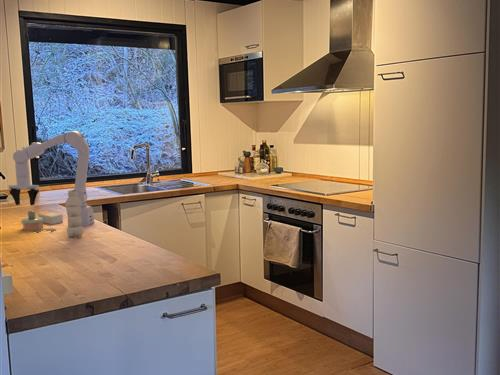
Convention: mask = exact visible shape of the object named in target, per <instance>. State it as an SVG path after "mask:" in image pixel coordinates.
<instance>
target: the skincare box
mask: <svg viewBox="0 0 500 375" xmlns="http://www.w3.org/2000/svg"><path fill="white" fill-rule="evenodd" d="M38 217H41V218H43V224H44V223H45V224H50V225H54V224H60V223H63V222H64V218H63V217H64V216H63V214H61V213H56V212H52V211H47V212H41V213H38Z"/></svg>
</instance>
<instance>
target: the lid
mask: <svg viewBox="0 0 500 375" xmlns="http://www.w3.org/2000/svg"><path fill="white" fill-rule="evenodd" d="M20 221H21V224H22V225H23V224H33V223H39V222H42V221H43V218H41V217H39V216H36V211H35V210H29V211H27V217H25V218H22V219H21V220H20Z"/></svg>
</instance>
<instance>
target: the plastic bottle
mask: <svg viewBox="0 0 500 375" xmlns="http://www.w3.org/2000/svg"><path fill="white" fill-rule="evenodd" d="M67 195H68V197H67V199H66V200H65V204H64V205H65V209H66V214H67V229H66V230H67V231H66V234H67V236H68V237H69V238H75V237H76V238H79V236H80V237H81V236H83V234H84V228H83V225H82V224H81V216H80V215H81V201H80V199H79V198H78V197H77V190H74V189H71V190H68V191H67Z"/></svg>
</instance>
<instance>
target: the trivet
mask: <svg viewBox="0 0 500 375" xmlns="http://www.w3.org/2000/svg"><path fill="white" fill-rule="evenodd" d="M43 230H46V231H51V232H50V234H51V233H54V231H55V232H56V231H57V229H56V228H41V229H36V230H32V233H33V232H36V233H39V232H41V231H43ZM36 233H35V234H36Z"/></svg>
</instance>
